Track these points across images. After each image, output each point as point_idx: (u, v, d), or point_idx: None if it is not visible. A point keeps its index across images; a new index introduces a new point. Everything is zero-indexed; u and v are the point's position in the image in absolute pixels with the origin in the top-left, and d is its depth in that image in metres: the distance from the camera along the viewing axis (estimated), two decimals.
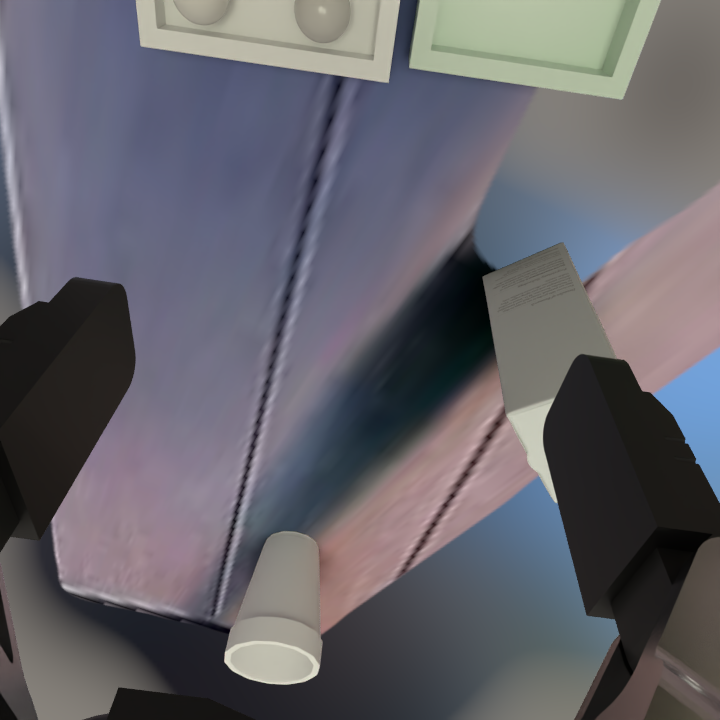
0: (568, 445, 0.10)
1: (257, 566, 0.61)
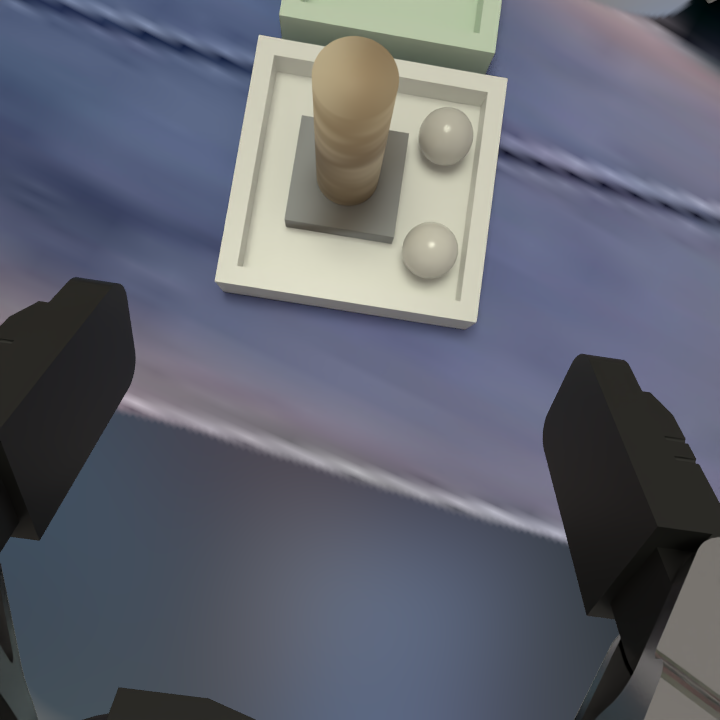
0: (568, 445, 0.10)
1: None
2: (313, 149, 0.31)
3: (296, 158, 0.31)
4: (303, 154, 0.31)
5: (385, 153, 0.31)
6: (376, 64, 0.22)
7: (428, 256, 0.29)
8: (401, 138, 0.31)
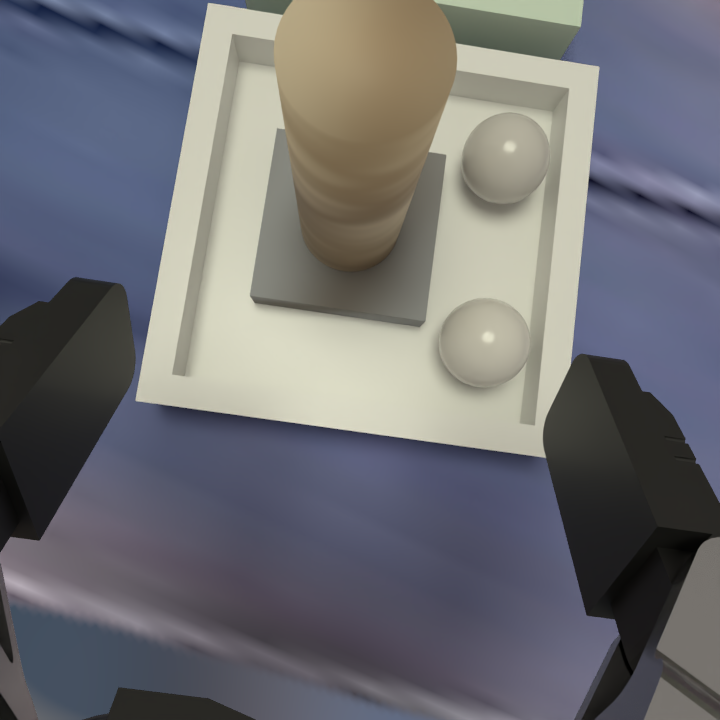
0: (568, 445, 0.10)
1: None
2: None
3: (268, 197, 0.19)
4: (279, 190, 0.19)
5: None
6: (409, 27, 0.10)
7: (485, 359, 0.17)
8: (434, 163, 0.20)
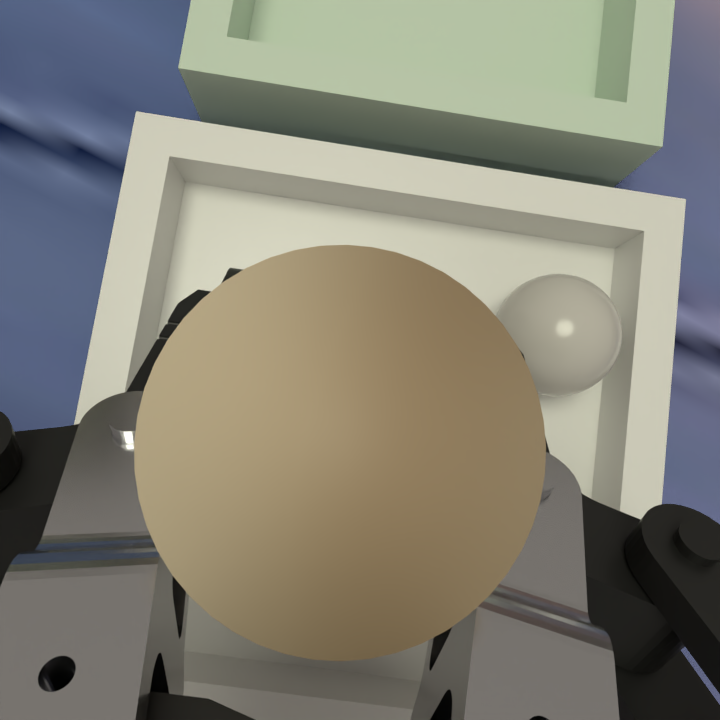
0: None
1: None
2: None
3: None
4: None
5: None
6: (439, 378, 0.05)
7: None
8: None
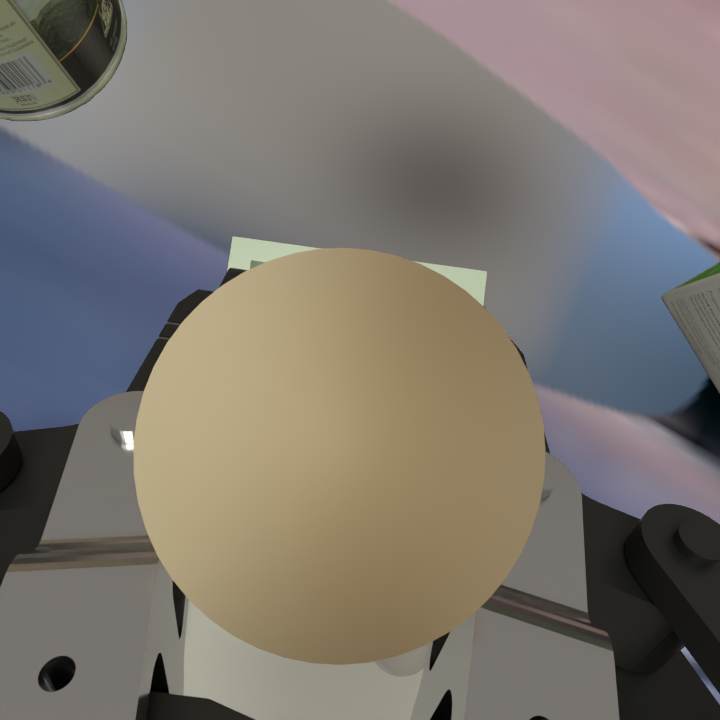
0: None
1: None
2: None
3: None
4: None
5: None
6: (439, 381, 0.05)
7: None
8: None
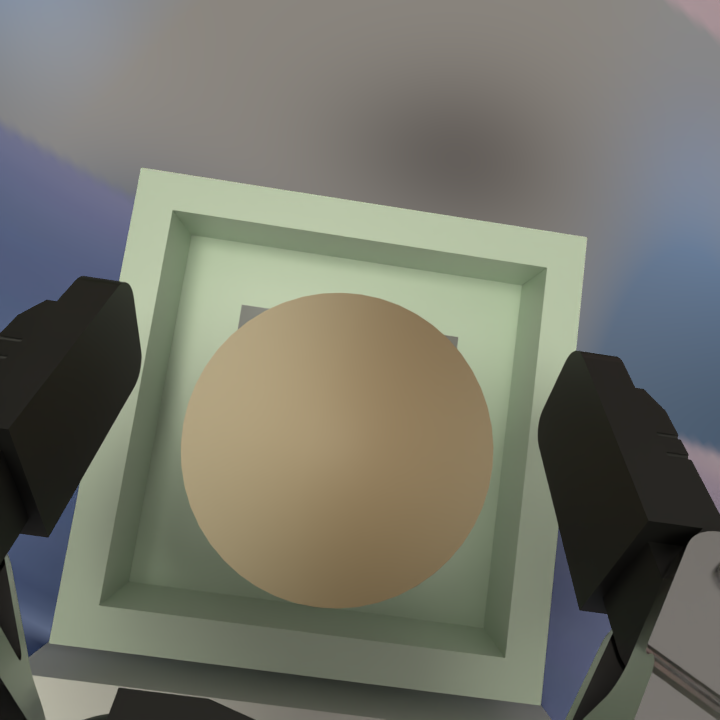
0: (562, 441, 0.10)
1: None
2: None
3: None
4: None
5: None
6: (412, 395, 0.06)
7: None
8: None
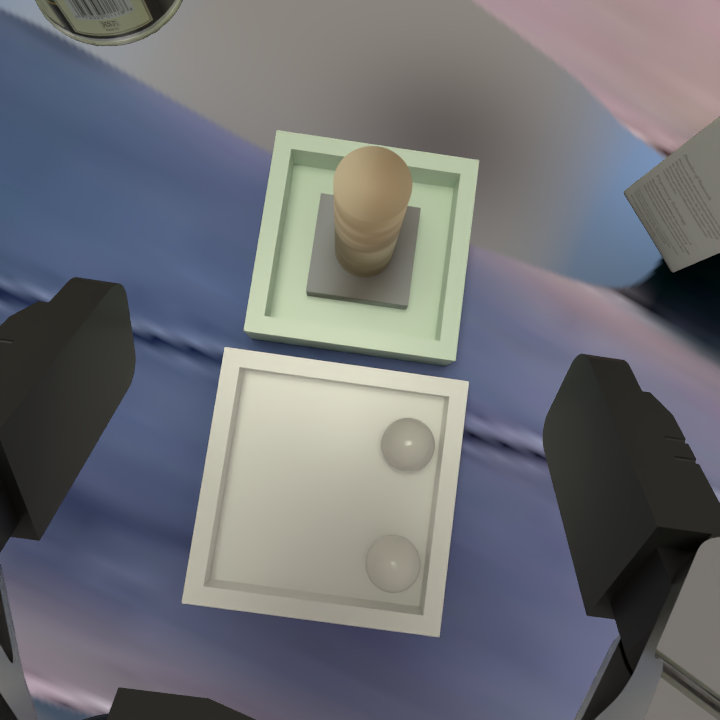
0: (568, 445, 0.10)
1: None
2: (332, 225, 0.33)
3: (316, 233, 0.33)
4: (322, 229, 0.33)
5: None
6: (391, 171, 0.24)
7: (389, 583, 0.29)
8: (414, 212, 0.33)
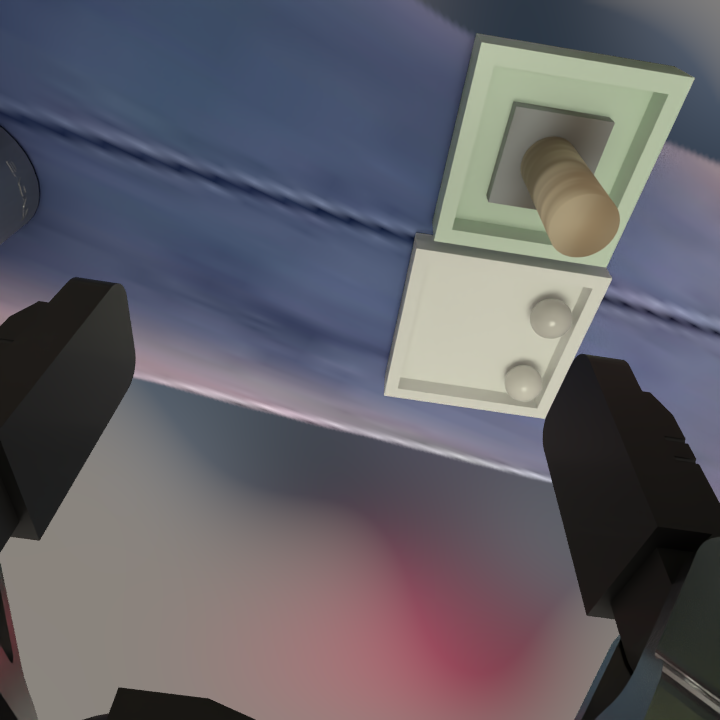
0: (568, 445, 0.10)
1: None
2: (522, 140, 0.34)
3: (505, 149, 0.35)
4: (512, 145, 0.35)
5: (587, 143, 0.34)
6: (603, 217, 0.28)
7: (520, 400, 0.45)
8: (606, 128, 0.34)
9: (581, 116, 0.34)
